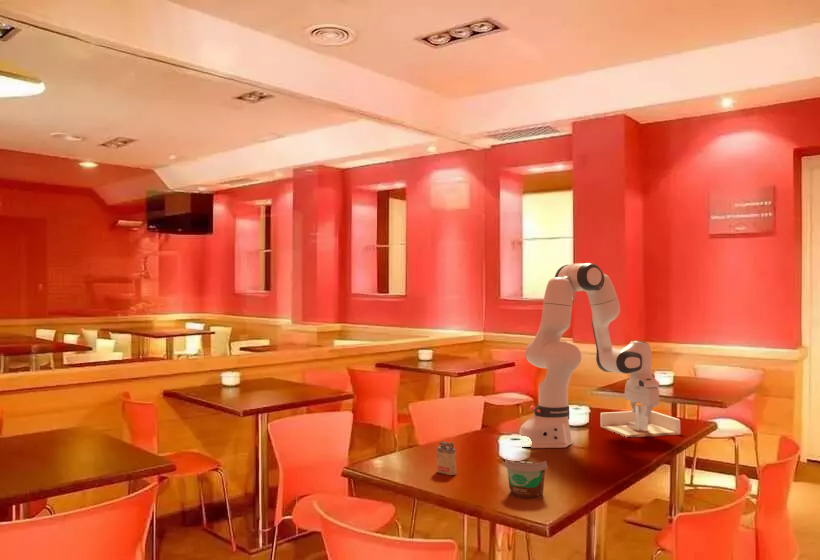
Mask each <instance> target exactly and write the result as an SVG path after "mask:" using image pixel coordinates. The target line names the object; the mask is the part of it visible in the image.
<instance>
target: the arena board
mask: <svg viewBox="0 0 820 560" xmlns="http://www.w3.org/2000/svg"><path fill="white" fill-rule="evenodd" d="M601 428H602V429H604V430H607V431H610V432H611V433H614V432H615V433H614V434H616V435H619V434H620V436H621V437H624V436H625V437H624V438H627V437H631V438H642V437H643V438H645V437H646V436H647V437H660V436H676V435H677V432H675V431H672V430H669V429H666V428H664V427H661V426H658V425H655V424H652V423H648V431H637V430H634V429H631V428H629V427H627V424H615V425H602V427H601Z"/></svg>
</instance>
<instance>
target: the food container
mask: <svg viewBox="0 0 820 560" xmlns="http://www.w3.org/2000/svg"><path fill="white" fill-rule="evenodd" d="M504 467H505V468H506V469H507V477H508V487H509V494H510V496H512V497H514V498H517V499H521V498H523V499H524V500H533V499H534V500H535V499H538V498H541V497H543V495H544V487H545V486H544V485H545V476H546V474H545V473H546V470H547V469H548V463H547V461H546V460H543V461H542V462H533V461H529V460H508V457H506V459H505V462H504Z"/></svg>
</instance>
